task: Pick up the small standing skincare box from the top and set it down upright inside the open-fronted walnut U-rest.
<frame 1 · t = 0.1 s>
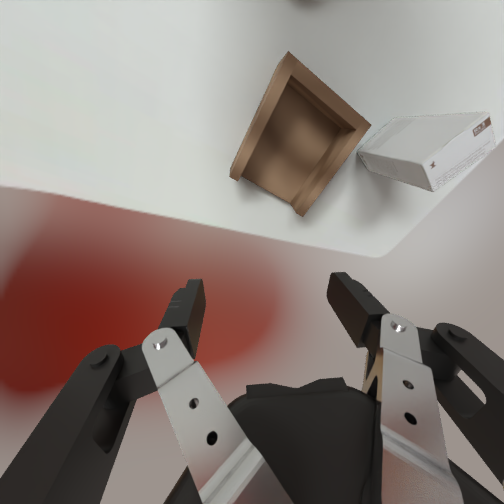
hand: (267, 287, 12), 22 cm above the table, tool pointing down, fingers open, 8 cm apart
skincare box: (379, 144, 28), on the table
u rest: (287, 146, 27), on the table
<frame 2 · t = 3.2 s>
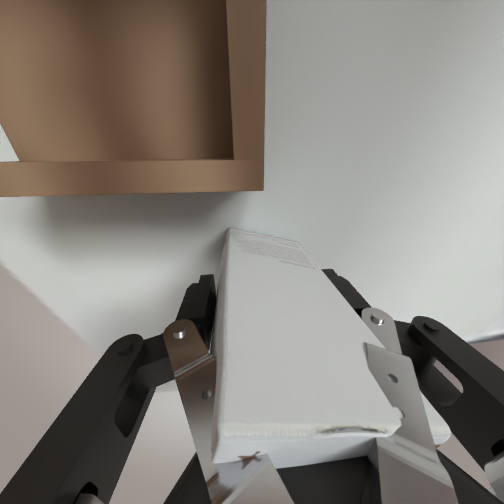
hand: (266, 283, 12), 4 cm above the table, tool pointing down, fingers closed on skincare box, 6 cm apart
skincare box: (260, 254, 16), on the table, touching gripper
u rest: (126, 54, 10), on the table
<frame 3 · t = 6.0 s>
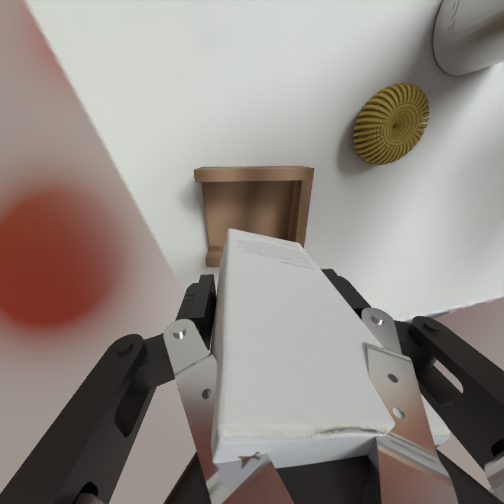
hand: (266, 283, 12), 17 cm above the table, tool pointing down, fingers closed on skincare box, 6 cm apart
skincare box: (260, 254, 16), point 13 cm above the table, touching gripper
u rest: (251, 211, 28), on the table
sculpture: (376, 129, 24), on the table
when the fingers open (6 cm above the table, at t = 9.1 s): skincare box stays where it is, resting on u rest.
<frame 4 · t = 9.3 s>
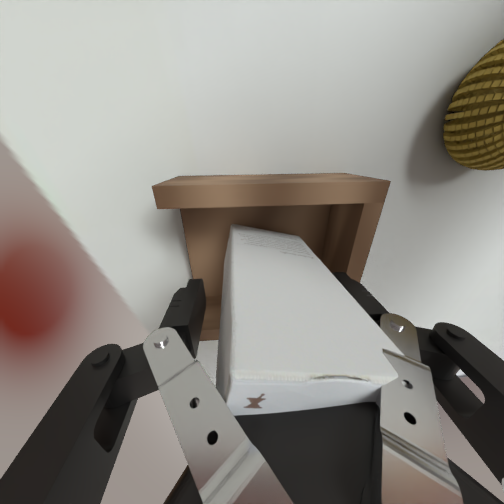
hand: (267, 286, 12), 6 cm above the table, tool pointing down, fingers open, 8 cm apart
skincare box: (262, 248, 17), point 1 cm above the table, touching u rest
u rest: (262, 244, 18), on the table
sculpture: (480, 110, 14), on the table
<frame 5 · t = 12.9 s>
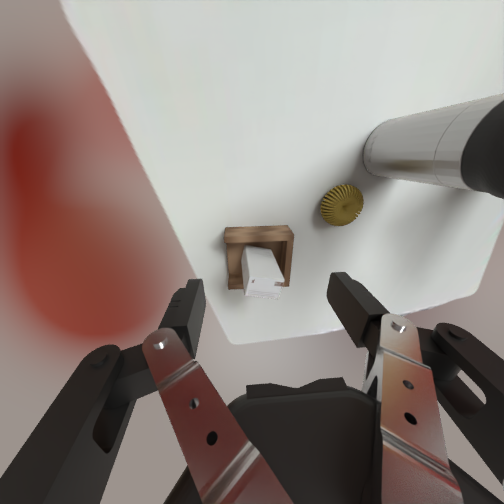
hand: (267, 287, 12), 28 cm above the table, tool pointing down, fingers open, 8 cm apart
skincare box: (256, 253, 42), point 1 cm above the table, touching u rest
u rest: (256, 251, 42), on the table
sculpture: (336, 203, 39), on the table
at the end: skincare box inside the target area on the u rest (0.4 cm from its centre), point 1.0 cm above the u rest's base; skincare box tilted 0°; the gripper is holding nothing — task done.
